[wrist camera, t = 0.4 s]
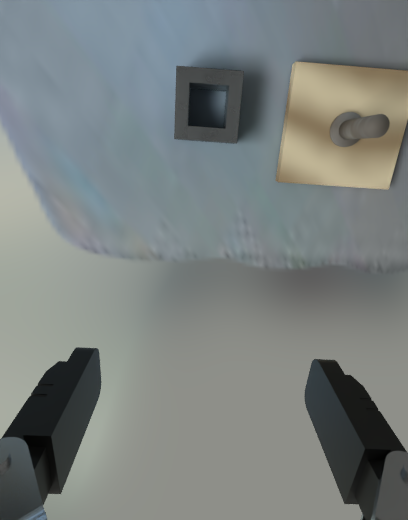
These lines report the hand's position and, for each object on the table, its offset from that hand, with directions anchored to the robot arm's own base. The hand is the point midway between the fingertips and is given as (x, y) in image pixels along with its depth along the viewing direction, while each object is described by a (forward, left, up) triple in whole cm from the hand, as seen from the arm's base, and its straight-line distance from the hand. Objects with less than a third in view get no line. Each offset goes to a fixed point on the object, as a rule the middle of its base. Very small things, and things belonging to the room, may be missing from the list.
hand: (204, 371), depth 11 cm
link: (-11, 0, -25) cm, 27 cm away
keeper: (-11, +14, -25) cm, 30 cm away
